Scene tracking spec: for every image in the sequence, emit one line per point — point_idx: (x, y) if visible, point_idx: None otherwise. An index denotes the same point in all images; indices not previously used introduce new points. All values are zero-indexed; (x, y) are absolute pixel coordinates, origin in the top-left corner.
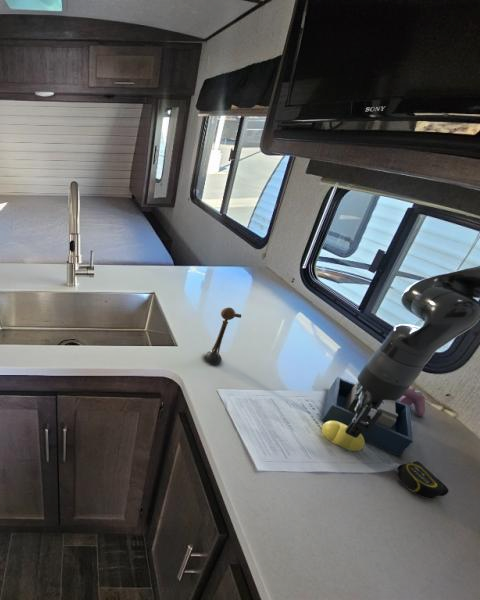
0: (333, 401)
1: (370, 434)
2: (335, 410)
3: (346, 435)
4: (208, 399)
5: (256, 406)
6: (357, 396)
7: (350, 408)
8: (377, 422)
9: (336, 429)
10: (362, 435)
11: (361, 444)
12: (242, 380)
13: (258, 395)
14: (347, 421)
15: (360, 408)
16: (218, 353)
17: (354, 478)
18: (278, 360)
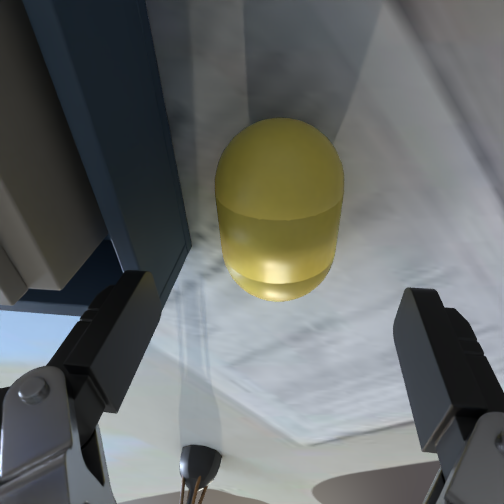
0: None
1: (134, 82)
2: (159, 287)
3: (320, 242)
4: (358, 453)
5: (298, 389)
6: (107, 474)
7: (154, 324)
8: (37, 99)
9: (312, 285)
10: (155, 104)
11: (319, 155)
12: (215, 414)
13: (244, 388)
14: (158, 211)
15: (127, 322)
16: (196, 490)
17: (501, 107)
18: (22, 360)
